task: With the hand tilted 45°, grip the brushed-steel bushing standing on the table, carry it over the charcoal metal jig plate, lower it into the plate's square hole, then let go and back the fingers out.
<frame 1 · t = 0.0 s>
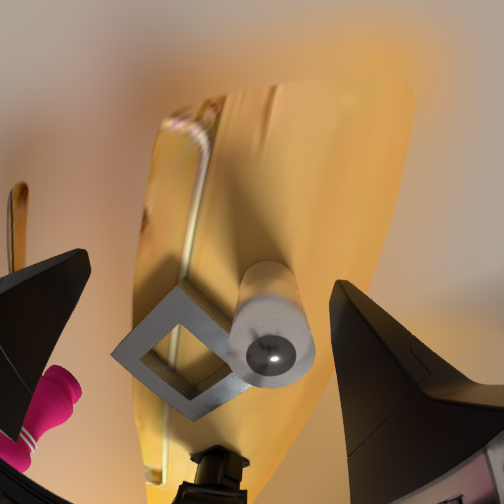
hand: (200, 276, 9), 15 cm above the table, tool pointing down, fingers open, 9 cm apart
pepper mill: (65, 381, 31), on the table
bushing: (268, 286, 26), on the table
jig: (190, 352, 28), on the table
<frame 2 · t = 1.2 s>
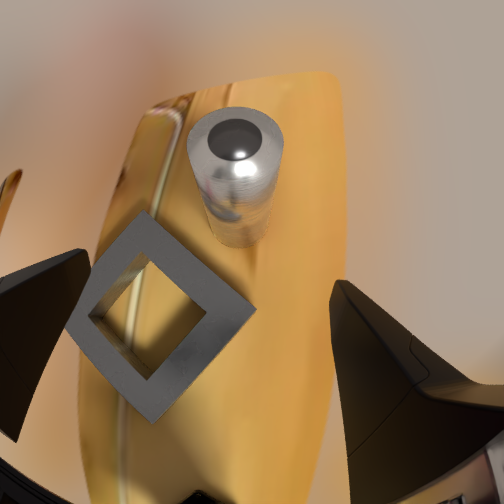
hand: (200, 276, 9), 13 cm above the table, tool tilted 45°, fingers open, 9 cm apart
bushing: (239, 220, 24), on the table
jig: (152, 317, 22), on the table
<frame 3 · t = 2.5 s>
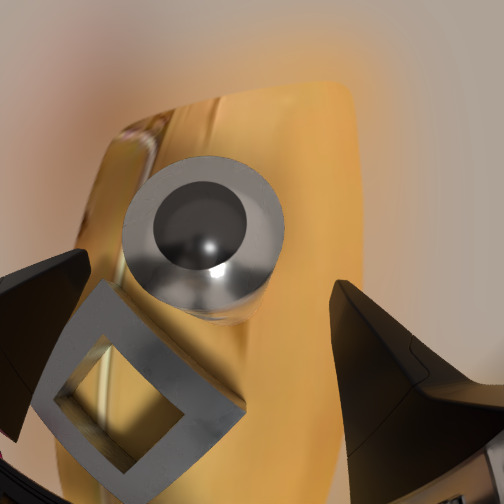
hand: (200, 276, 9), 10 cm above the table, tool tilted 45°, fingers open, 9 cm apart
bushing: (225, 289, 19), on the table
jig: (125, 402, 16), on the table
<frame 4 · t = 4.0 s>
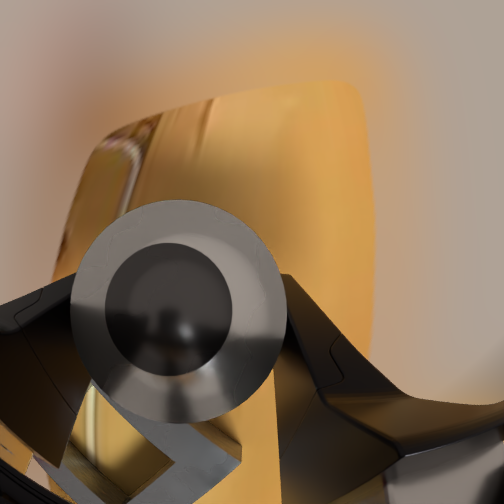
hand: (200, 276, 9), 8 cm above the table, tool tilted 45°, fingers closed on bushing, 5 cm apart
bushing: (218, 325, 16), on the table, touching gripper
jig: (114, 440, 14), on the table
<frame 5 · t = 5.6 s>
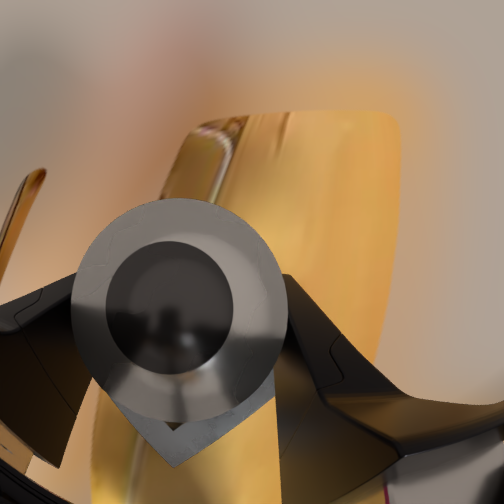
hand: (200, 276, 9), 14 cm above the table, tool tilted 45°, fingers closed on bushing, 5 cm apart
bushing: (218, 324, 16), point 6 cm above the table, touching gripper
jig: (182, 366, 21), on the table
when the fingers open (9 cm above the table, at t = 7.5 s): bushing drops 1 cm, resting in jig.
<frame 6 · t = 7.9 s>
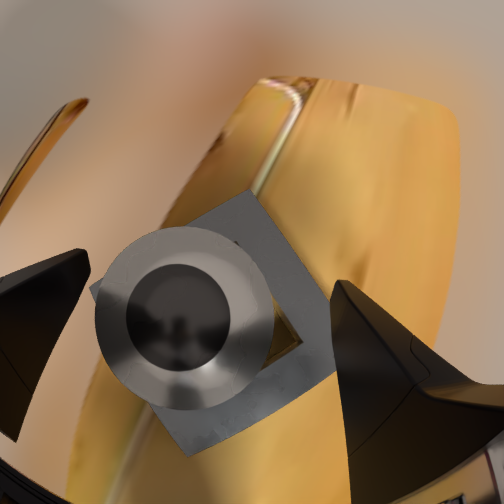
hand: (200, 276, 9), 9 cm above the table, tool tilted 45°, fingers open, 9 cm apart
bushing: (218, 326, 18), resting in jig
jig: (220, 325, 18), on the table
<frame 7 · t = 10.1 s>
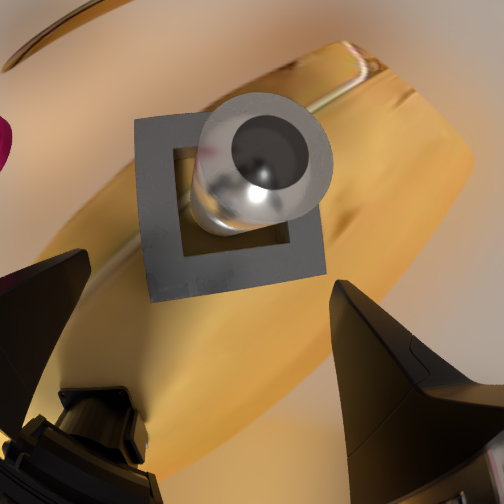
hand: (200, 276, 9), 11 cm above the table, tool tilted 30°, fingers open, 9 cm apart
bushing: (224, 201, 20), resting in jig
jig: (226, 201, 20), on the table
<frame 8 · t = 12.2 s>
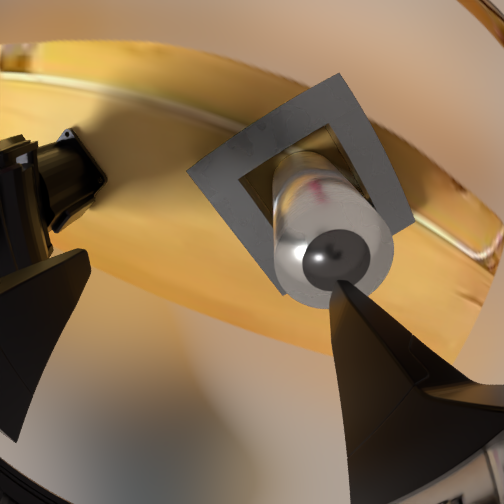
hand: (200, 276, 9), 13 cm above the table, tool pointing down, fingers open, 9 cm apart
bushing: (305, 183, 20), resting in jig
jig: (306, 184, 21), on the table
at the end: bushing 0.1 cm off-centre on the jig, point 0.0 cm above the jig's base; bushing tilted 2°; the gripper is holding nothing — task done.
